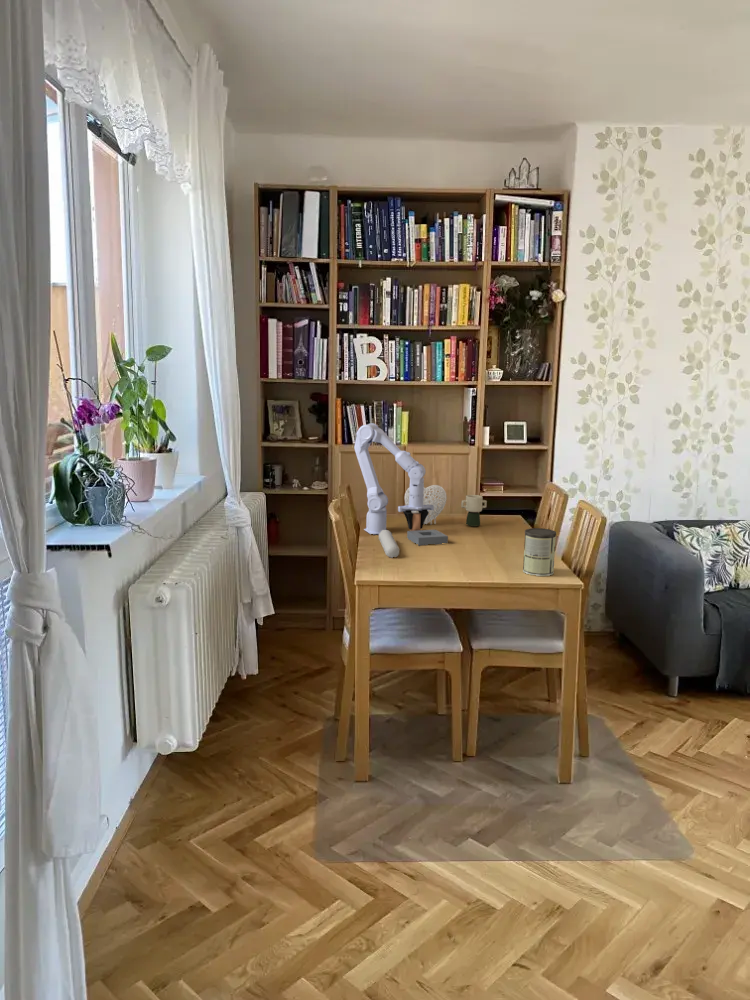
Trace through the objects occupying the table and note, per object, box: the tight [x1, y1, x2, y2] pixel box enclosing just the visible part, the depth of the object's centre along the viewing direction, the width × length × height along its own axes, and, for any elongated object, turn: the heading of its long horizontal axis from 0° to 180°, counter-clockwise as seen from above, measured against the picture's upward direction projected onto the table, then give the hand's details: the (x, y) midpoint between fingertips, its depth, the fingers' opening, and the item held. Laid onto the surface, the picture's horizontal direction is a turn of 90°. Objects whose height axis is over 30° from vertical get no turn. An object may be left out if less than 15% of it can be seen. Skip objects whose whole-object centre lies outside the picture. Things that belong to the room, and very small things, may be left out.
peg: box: [409, 512, 421, 531], centre depth 307 cm, size 4×4×9 cm
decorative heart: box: [404, 484, 448, 525], centre depth 328 cm, size 18×11×17 cm, turn 95°
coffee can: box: [522, 527, 557, 577], centre depth 256 cm, size 10×10×14 cm
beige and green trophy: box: [460, 494, 488, 527], centre depth 327 cm, size 11×7×13 cm, turn 96°
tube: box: [378, 529, 400, 559], centre depth 283 cm, size 5×5×25 cm
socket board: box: [406, 529, 449, 546], centre depth 299 cm, size 12×12×3 cm
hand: (415, 528), depth 307 cm, fingers closed on peg, 4 cm apart
